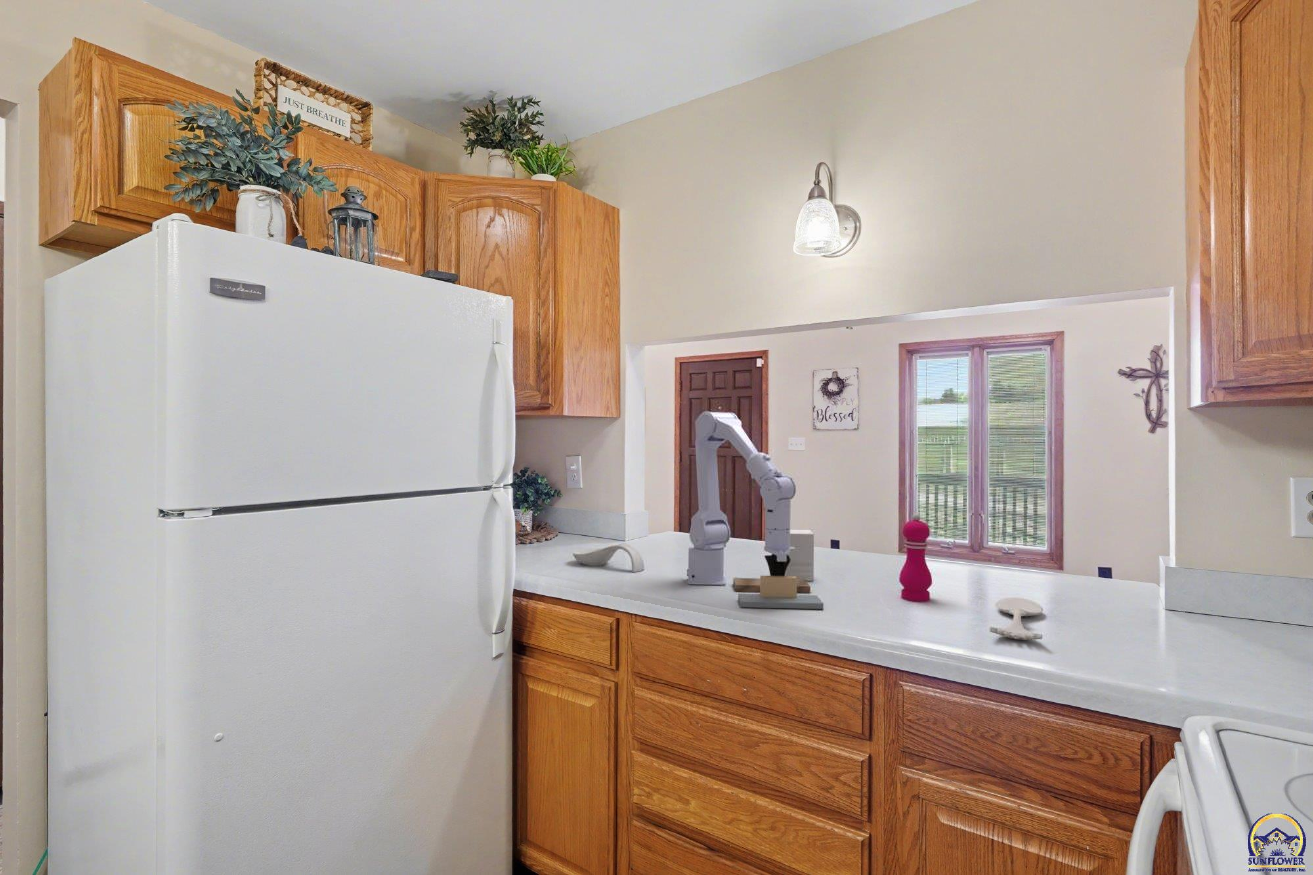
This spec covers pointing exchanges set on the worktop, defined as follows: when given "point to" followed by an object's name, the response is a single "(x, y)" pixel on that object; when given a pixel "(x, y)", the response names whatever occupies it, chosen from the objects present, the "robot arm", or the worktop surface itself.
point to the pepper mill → (915, 562)
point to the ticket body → (754, 585)
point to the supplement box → (801, 555)
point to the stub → (779, 595)
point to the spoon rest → (609, 556)
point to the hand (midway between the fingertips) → (777, 586)
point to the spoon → (1017, 618)
